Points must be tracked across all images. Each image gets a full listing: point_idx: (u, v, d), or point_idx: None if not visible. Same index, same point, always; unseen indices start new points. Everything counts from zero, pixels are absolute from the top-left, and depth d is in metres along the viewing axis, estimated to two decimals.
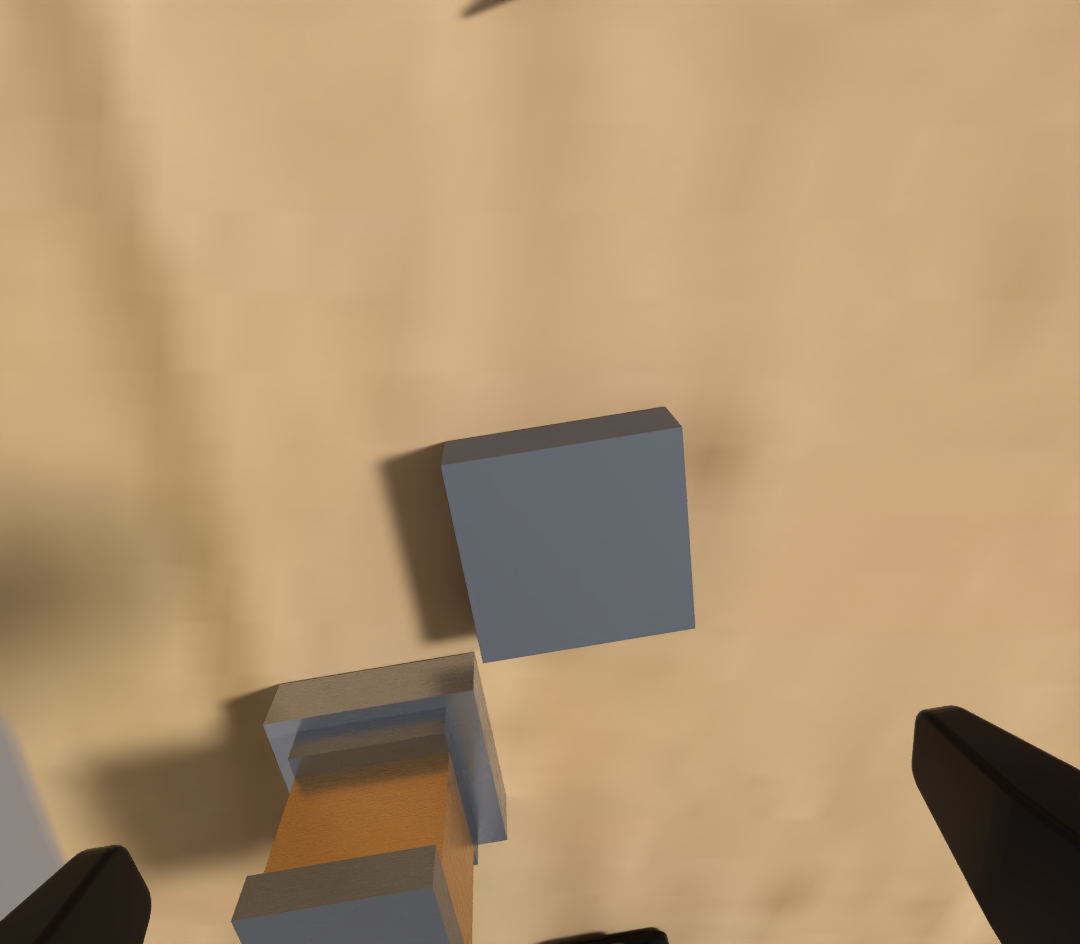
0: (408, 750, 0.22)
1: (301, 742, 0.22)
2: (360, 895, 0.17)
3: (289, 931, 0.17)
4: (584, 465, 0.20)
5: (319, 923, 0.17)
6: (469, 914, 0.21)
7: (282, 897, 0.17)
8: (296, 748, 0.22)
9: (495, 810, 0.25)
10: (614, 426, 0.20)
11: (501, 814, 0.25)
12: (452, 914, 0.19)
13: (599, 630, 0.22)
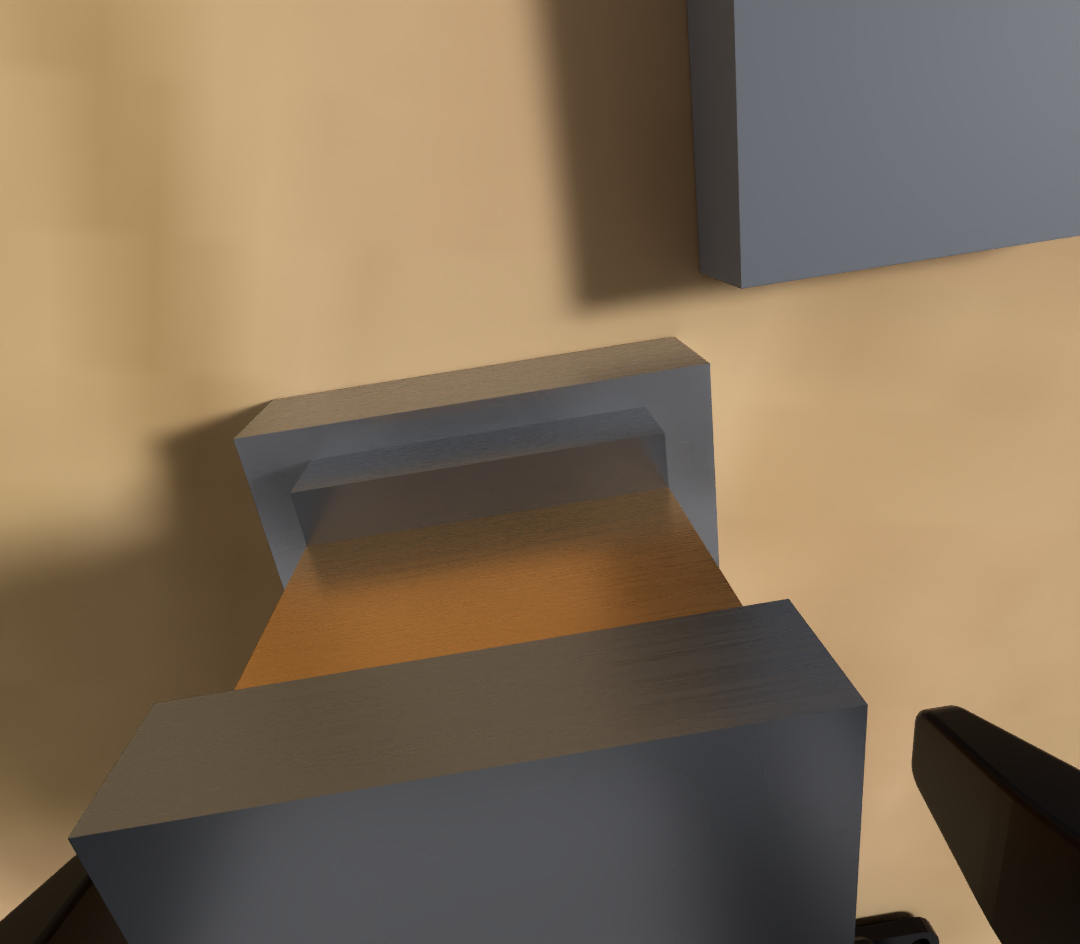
0: (576, 478, 0.09)
1: (321, 470, 0.10)
2: (577, 738, 0.04)
3: (300, 882, 0.04)
4: None
5: (417, 852, 0.04)
6: None
7: (274, 756, 0.05)
8: (310, 478, 0.09)
9: None
10: None
11: None
12: None
13: (1017, 207, 0.09)
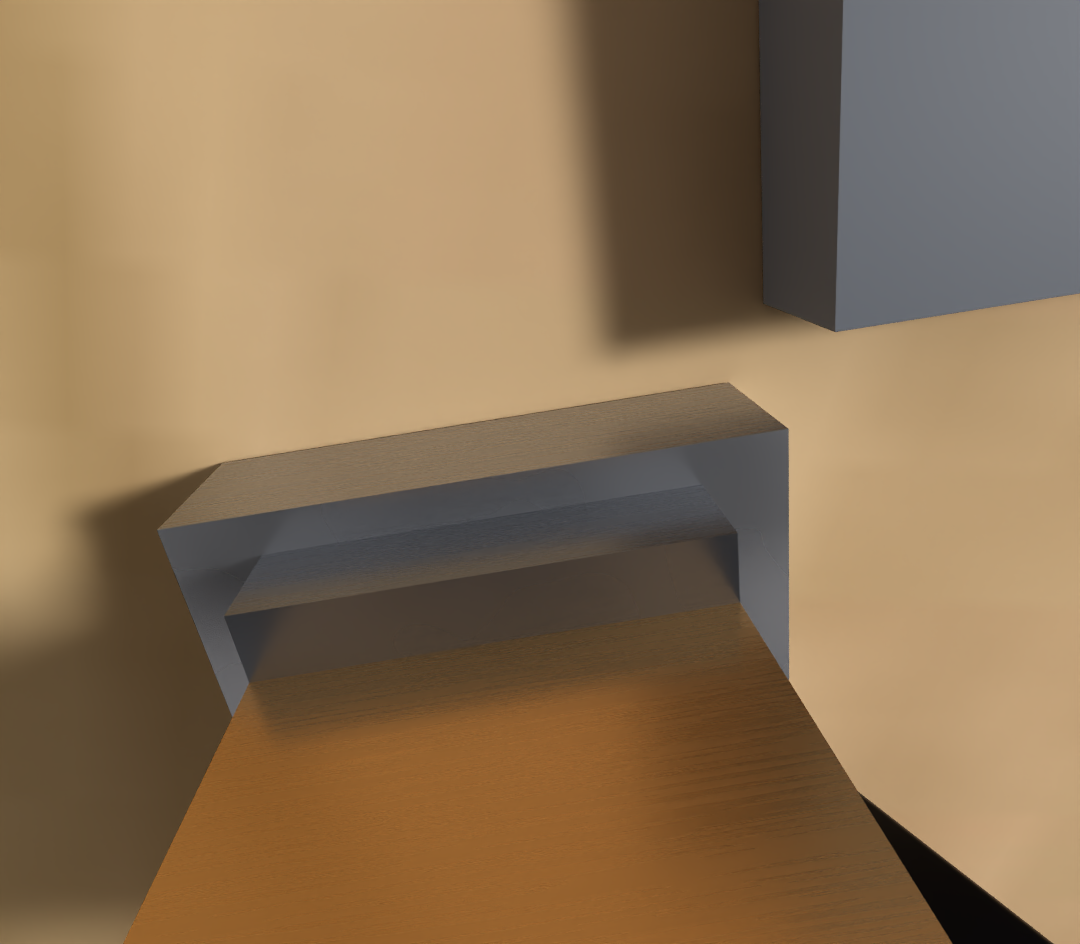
0: (615, 593, 0.07)
1: (272, 576, 0.07)
2: None
3: None
4: None
5: None
6: None
7: None
8: (255, 590, 0.07)
9: None
10: None
11: None
12: None
13: None
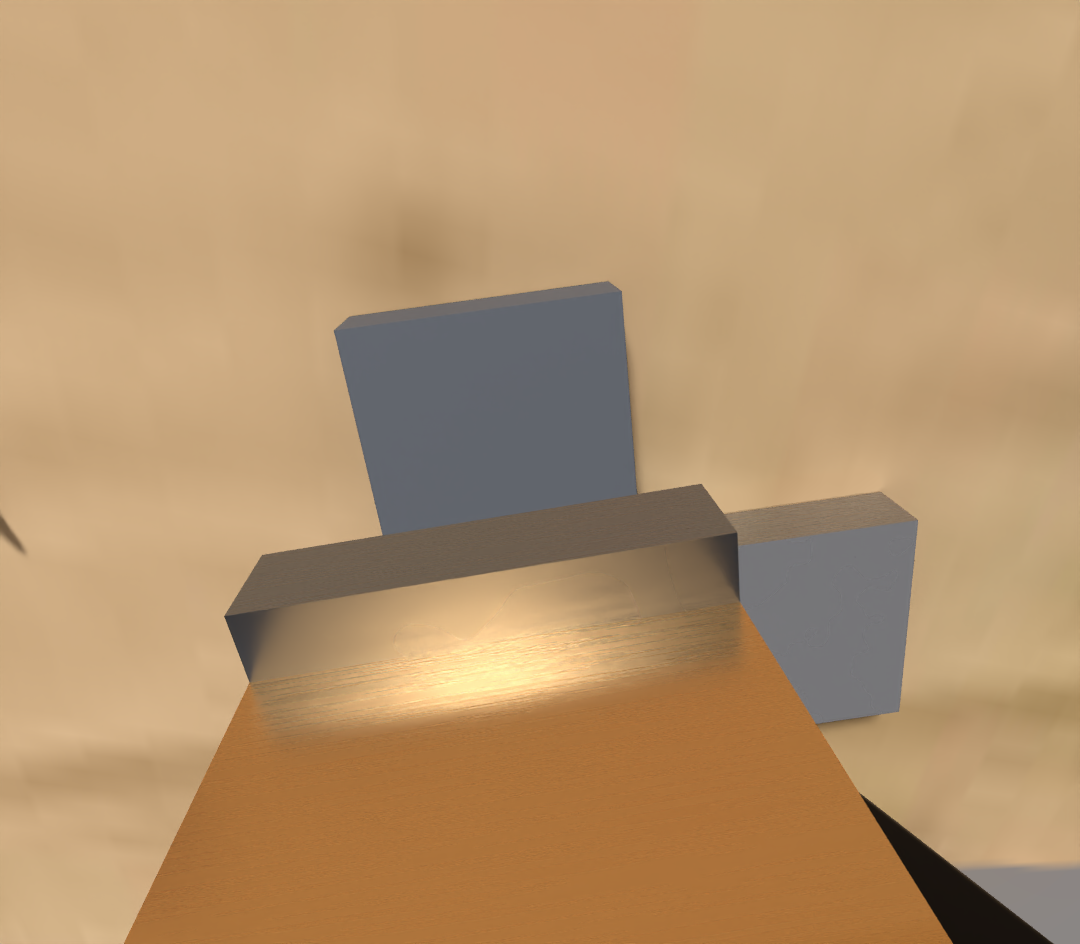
0: (615, 592, 0.07)
1: (272, 576, 0.07)
2: None
3: None
4: (387, 439, 0.18)
5: None
6: None
7: None
8: (255, 590, 0.07)
9: (865, 533, 0.20)
10: None
11: (875, 525, 0.20)
12: None
13: (611, 415, 0.18)
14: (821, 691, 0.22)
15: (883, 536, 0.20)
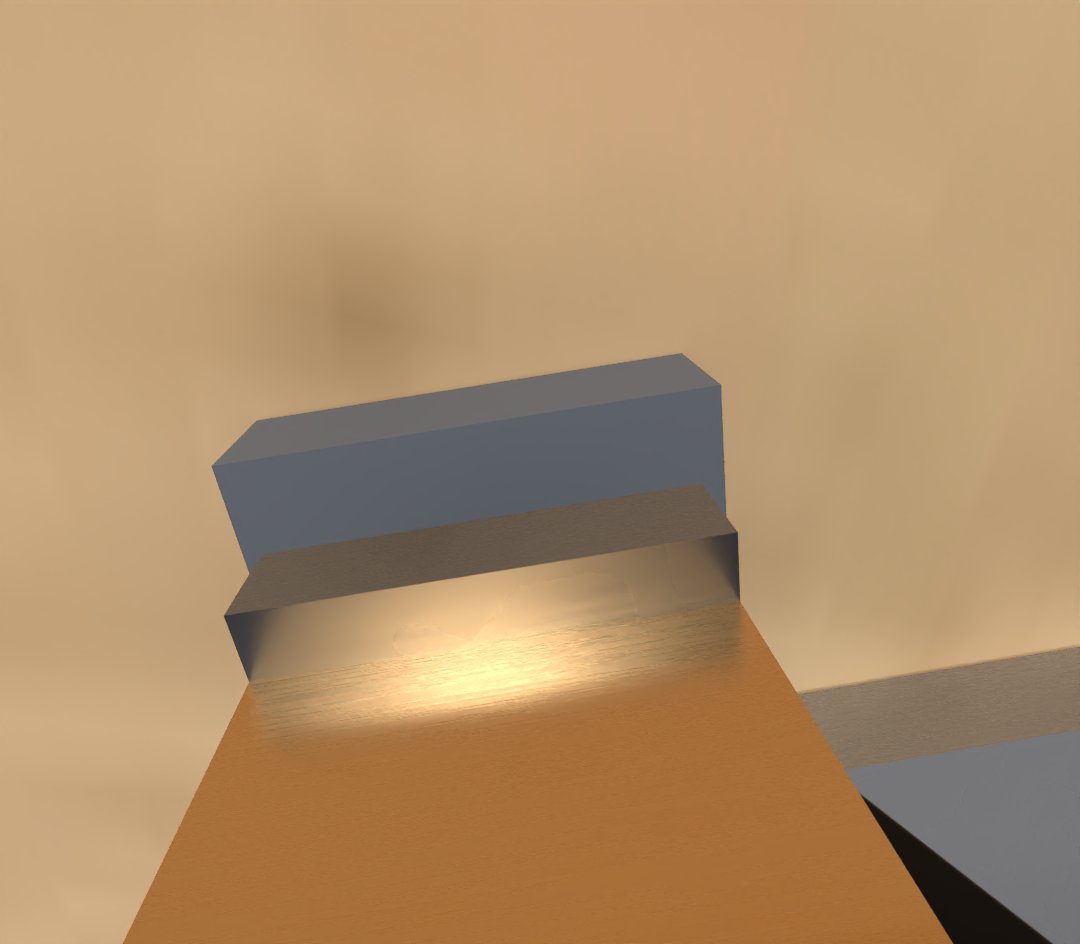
0: (615, 592, 0.07)
1: (271, 576, 0.07)
2: None
3: None
4: None
5: None
6: None
7: None
8: (255, 589, 0.07)
9: None
10: None
11: None
12: None
13: None
14: None
15: None
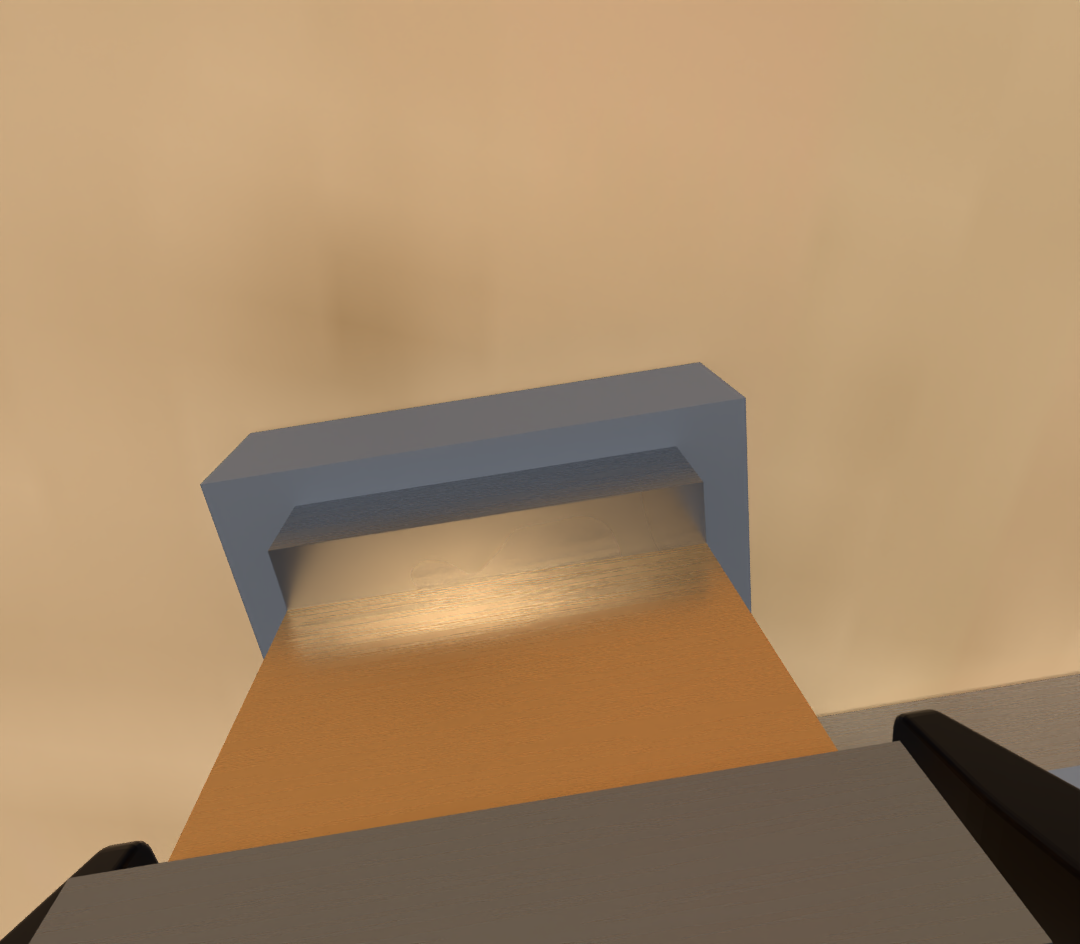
0: (599, 533, 0.08)
1: (305, 521, 0.08)
2: None
3: None
4: None
5: None
6: None
7: None
8: (292, 531, 0.08)
9: None
10: None
11: None
12: None
13: None
14: None
15: None
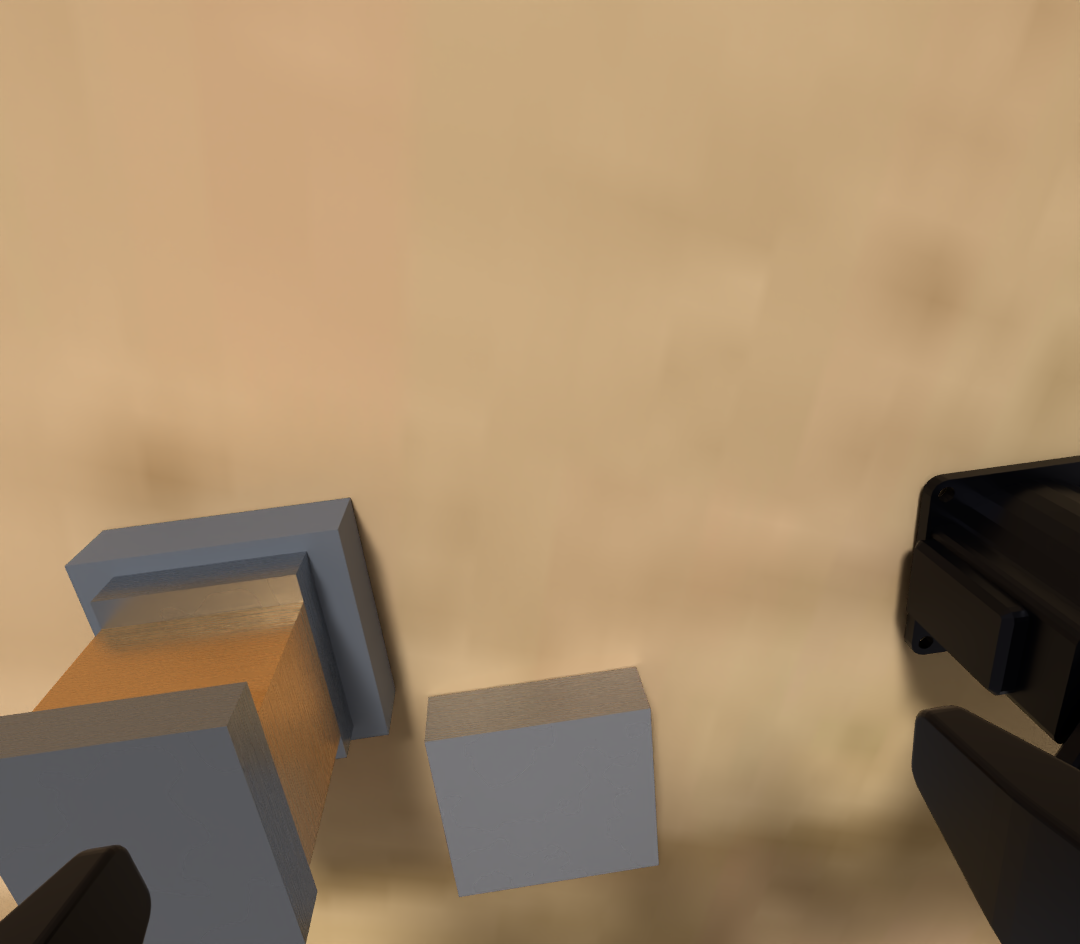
0: (249, 596, 0.17)
1: (114, 586, 0.17)
2: (125, 736, 0.12)
3: (25, 787, 0.12)
4: None
5: (68, 776, 0.12)
6: (316, 802, 0.16)
7: (19, 740, 0.12)
8: (105, 592, 0.17)
9: (602, 719, 0.21)
10: None
11: (611, 712, 0.21)
12: (273, 782, 0.14)
13: (343, 629, 0.19)
14: (581, 850, 0.23)
15: (619, 722, 0.21)
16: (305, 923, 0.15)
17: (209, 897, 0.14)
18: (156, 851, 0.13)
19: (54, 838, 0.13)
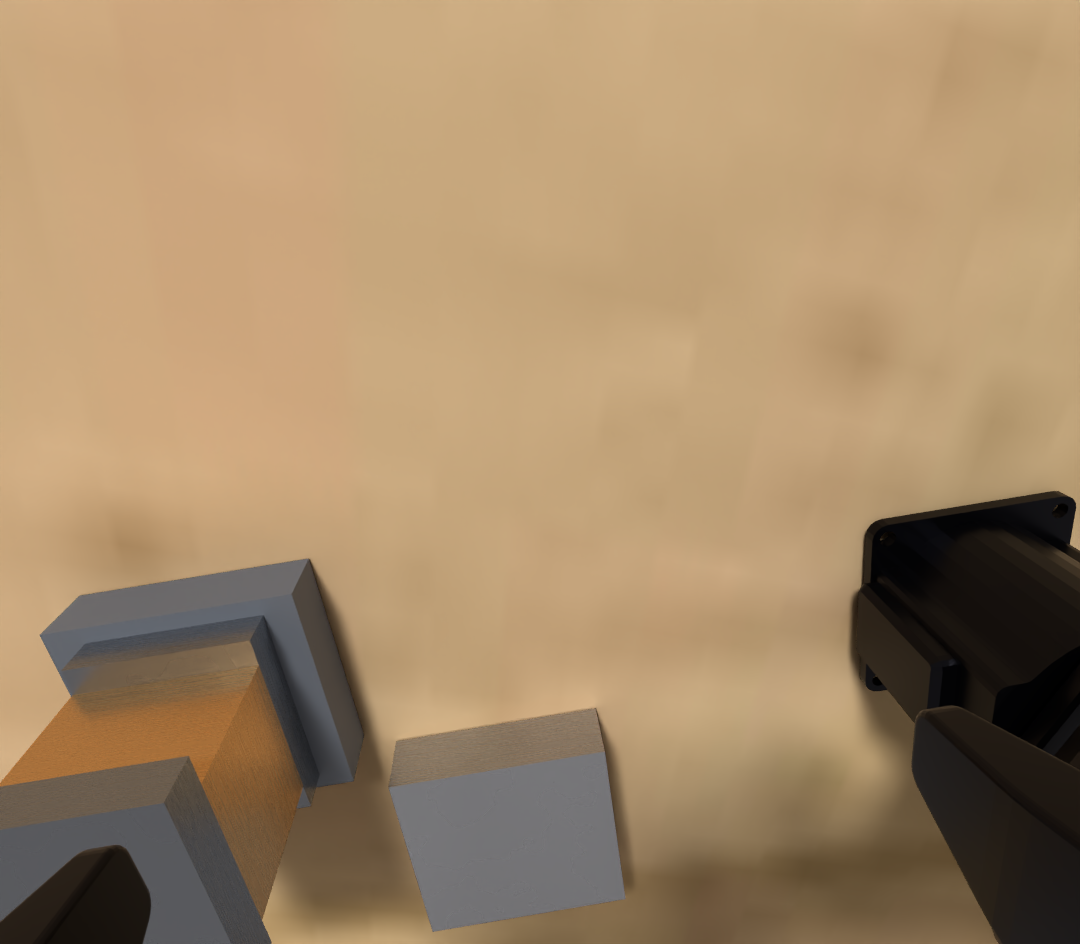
0: (208, 662, 0.18)
1: (84, 654, 0.19)
2: (73, 813, 0.13)
3: None
4: None
5: (24, 850, 0.13)
6: (272, 856, 0.17)
7: None
8: (75, 660, 0.18)
9: (558, 763, 0.22)
10: None
11: (567, 756, 0.22)
12: (219, 846, 0.15)
13: (303, 685, 0.20)
14: (548, 886, 0.24)
15: (576, 765, 0.22)
16: None
17: None
18: None
19: (16, 904, 0.14)
